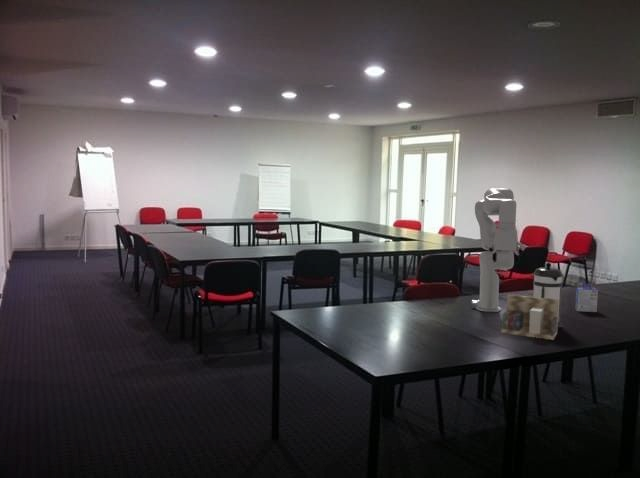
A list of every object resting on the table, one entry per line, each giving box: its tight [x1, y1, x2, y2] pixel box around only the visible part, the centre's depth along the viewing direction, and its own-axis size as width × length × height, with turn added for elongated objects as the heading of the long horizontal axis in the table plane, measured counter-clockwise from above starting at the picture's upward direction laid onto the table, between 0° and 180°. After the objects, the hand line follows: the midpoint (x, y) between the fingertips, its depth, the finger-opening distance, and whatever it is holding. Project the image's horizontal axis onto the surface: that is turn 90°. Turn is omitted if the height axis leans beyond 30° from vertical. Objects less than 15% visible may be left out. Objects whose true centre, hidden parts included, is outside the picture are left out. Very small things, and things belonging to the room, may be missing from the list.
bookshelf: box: [500, 294, 559, 341], centre depth 244 cm, size 22×12×16 cm, turn 59°
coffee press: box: [532, 262, 564, 328], centre depth 260 cm, size 17×16×30 cm
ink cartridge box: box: [574, 283, 599, 313], centre depth 288 cm, size 10×6×14 cm, turn 78°
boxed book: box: [529, 307, 544, 334], centre depth 242 cm, size 4×8×10 cm, turn 149°
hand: (505, 262), depth 254 cm, fingers open, 9 cm apart
